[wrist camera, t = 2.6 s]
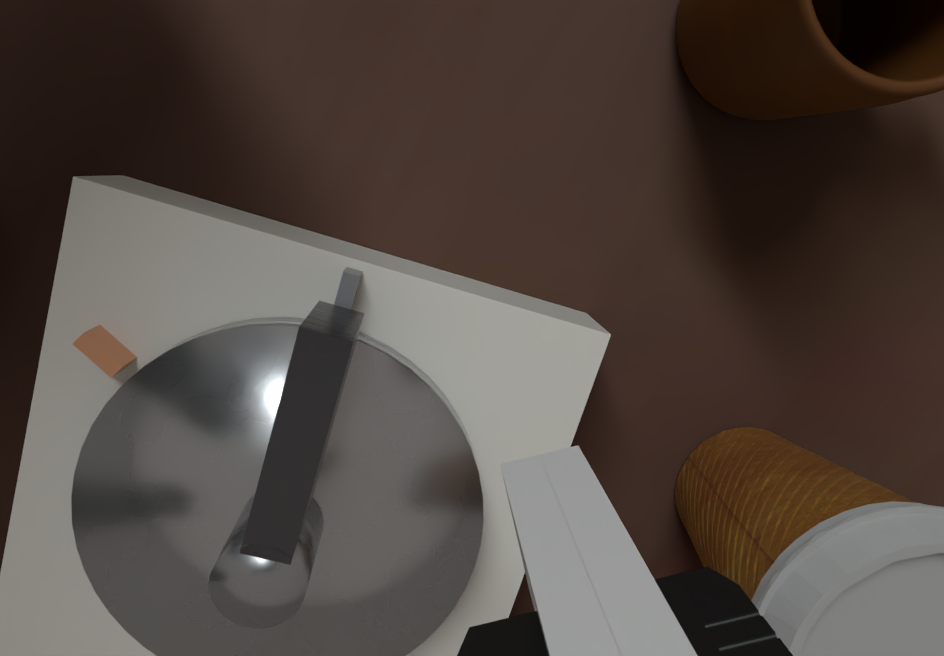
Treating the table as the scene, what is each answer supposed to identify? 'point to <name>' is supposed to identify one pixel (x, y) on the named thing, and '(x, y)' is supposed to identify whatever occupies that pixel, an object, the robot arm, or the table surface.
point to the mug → (810, 54)
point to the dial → (279, 495)
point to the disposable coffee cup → (816, 546)
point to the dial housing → (261, 296)
